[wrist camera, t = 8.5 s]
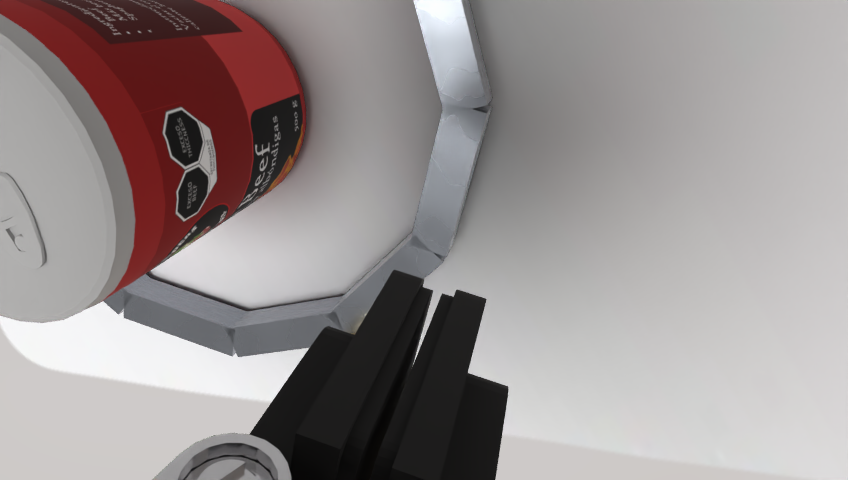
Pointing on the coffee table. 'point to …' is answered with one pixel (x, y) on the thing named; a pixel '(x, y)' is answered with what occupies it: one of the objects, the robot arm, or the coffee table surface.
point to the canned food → (130, 139)
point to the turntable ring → (416, 255)
